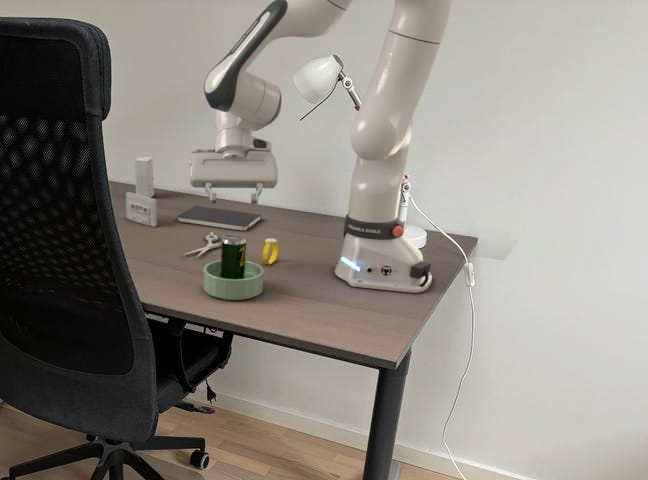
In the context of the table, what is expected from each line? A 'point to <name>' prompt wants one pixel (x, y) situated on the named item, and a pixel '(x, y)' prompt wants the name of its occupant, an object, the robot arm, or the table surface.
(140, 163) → the cosmetic box
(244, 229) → the notebook
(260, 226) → the table surface
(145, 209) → the cassette
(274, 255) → the watch
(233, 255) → the beer can
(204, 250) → the scissors
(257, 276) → the bowl
